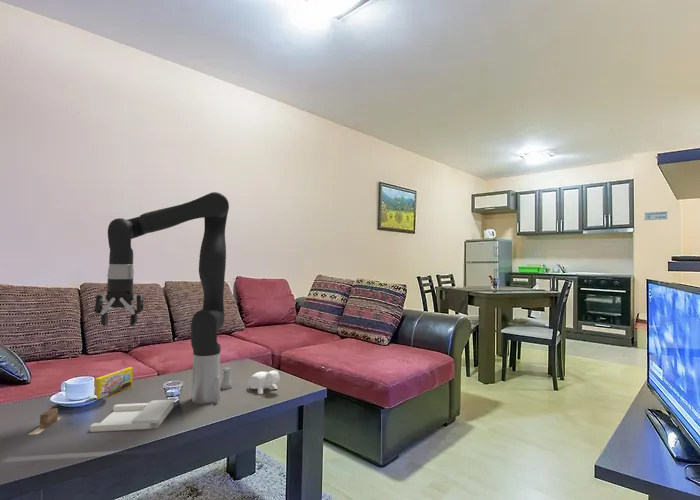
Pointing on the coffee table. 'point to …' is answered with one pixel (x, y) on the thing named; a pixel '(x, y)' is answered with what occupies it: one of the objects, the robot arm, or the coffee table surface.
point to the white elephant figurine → (263, 380)
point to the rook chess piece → (226, 379)
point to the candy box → (113, 383)
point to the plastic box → (135, 416)
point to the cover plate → (46, 420)
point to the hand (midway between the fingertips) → (118, 325)
